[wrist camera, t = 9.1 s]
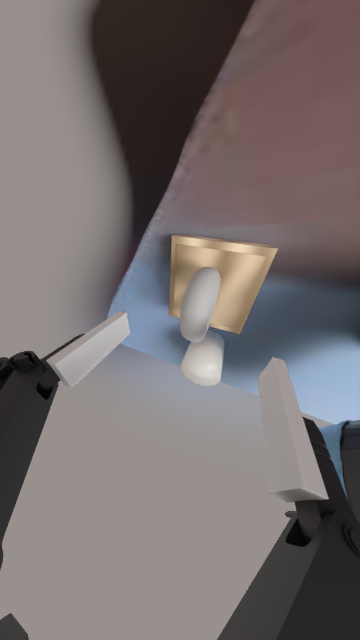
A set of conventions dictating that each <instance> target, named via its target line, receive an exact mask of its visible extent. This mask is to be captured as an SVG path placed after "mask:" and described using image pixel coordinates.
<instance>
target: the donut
mask: <svg viewBox="0 0 360 640" xmlns="http://www.w3.org/2000/svg"><path fill="white" fill-rule="evenodd" d="M220 282H221V278H220V274H219V272H218V271H217V270H216V269H215V268H213V267H203V268H200V269H199V270H197V271H196V272H195V273H194V275H193V276H192V278H191V279H190V281H189V284H188V286H187V288H186V291H185V294H184V297H183V302H182V306H181V311H180V322H179V325H180V331H181V334H182V336H183V337H184V338H185V339H187V340H189V341H191V342H197V341H200V340H202V339H203V338H204V337H205V335H206V333H207V330H208V327H209V324H210V321H211V318H212V314H213V311H214V308H215V304H216V300H217V296H218V292H219V288H220Z"/></svg>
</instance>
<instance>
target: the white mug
mask: <svg viewBox="0 0 360 640" xmlns="http://www.w3.org/2000/svg"><path fill="white" fill-rule="evenodd" d="M224 348H225V342H224V340H223V338H222V337H221V336H220V335H219V334H218V333H216V332H214V331H211V330H207V333H206V335H205V337H204V338H203V339H202V340H200V341H197V342H190V344H189V347H188V349H187V351H186V354H185V356H184V358H183V361H182V363H181V366H180V369H181V372H182V374H183V375H184V376H185V377H186V378H187V379H188V380H190V381H191V382H193V383H195V384H198V385H202V386H214V385H216V384H218V383H219V382H220V379H221V372H222V364H223V356H224Z"/></svg>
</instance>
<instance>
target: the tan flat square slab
mask: <svg viewBox="0 0 360 640" xmlns="http://www.w3.org/2000/svg"><path fill="white" fill-rule="evenodd" d="M277 250H278V248H276V247H274V246H272V245H265V244H257V243H249V242H241V241H232V240H224V239H216V238H207V237H199V236H191V235H182V234H180V235H172V244H171V271H170V298H169V315H170V316H174V317H177V318H180V311H181V306H182V302H183V297H184V294H185V291H186V288H187V286H188V284H189V281H190V279H191V278H192V276H193V275H194V273H195V272H196V271H197V270H199V269H200V268H203V267H213V268H215V269H216V270H217V271H218V272H219V274H220V278H221V282H220V288H219V292H218V296H217V300H216V304H215V308H214V311H213V314H212V318H211V321H210V324H209V326H210V327H214V328H218V329H221V330H225V331H229V332H232V333H236V334H240V333H241V331H242V328H243V326H244V324H245V322H246V319H247V317H248V315H249V313H250V310H251V308H252V306H253V304H254V301H255V299H256V297H257V295H258V292H259V290H260V288H261V286H262V283H263V281H264V279H265V277H266V274H267V272H268V270H269V268H270V265H271V263H272V261H273V259H274V256H275V254H276V252H277Z"/></svg>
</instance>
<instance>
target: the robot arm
mask: <svg viewBox="0 0 360 640" xmlns="http://www.w3.org/2000/svg"><path fill="white" fill-rule="evenodd" d="M129 334H130V330H129V324H128V318H127V313H126V312H123V311H119V312H117V313H116V314H114V315H113V316H111V317H110V318H108V319H107V320H105V321H104V322H102V323H101V324H99V325H98V326H97V327H95V328H93V329H92V330H90V331H89V332H87V333H86V334H81V335H79V336H77V337H75V338H73V339H72V340H70V342H67V343H66V344H65V345H62V346H61V347H59V348H58V349H56V350H55V351H53V352H52V353H50V354H49V355H47V356H46V357H44V358H42V359H39V358H38V357H37V356H36V354H35V353H34V352H32V351H24V352H21V353H18V354H16V355H14V356H12V357H11V358H9V359H8V358H5V357H3V358H0V569H1V565H2V561H3V551H2V541H3V537H4V534H5V531H6V529H7V526H8V523H9V520H10V518H11V515H12V512H13V509H14V507H15V504H16V501H17V498H18V496H19V493H20V490H21V487H22V485H23V482H24V479H25V476H26V473H27V471H28V468H29V465H30V463H31V460H32V457H33V454H34V451H35V448H36V446H37V443H38V440H39V438H40V435H41V432H42V429H43V427H44V424H45V421H46V418H47V415H48V413H49V410H50V407H51V405H52V401H53V399H54V396H55V393H56V391H57V388H58V382H59V381H60V380H61V381H62V382H63V383H64V385H66V386H68V387H70V388H73V387H74V386H75V385H76V384H77V383H78V382H79V381H80V380H81V379H82V378H83V377H84V376H86V374H88V373H89V372H90V371H91V370H92V369H93V368H94V367H95V366H96V365H97V364H98V363H99V362H100V361H101V360H103V359H104V358H105V357H106V356H107V355H108V354H109V353H110V352H111V351H112V350H113V349H114V348H115V347H116V346H118V345H119V344H120V343H121V342H122V341H123V340H124V339H125V338H126V337H127V336H128V335H129ZM258 384H259V394H260V402H261V413H262V422H263V432H264V441H265V451H266V460H267V469H268V478H269V489H270V493H271V494H273V495H275V496H276V497H278V498H280V499H282V500H284V501H286V502H295V505H296V510H297V511H288V512H286V513H285V515H286V516H287V517H291V519H290V521H289V522H288V524H287V526H286V528H285V529H284V530H283V532H282V534H281V536H280V537H279V539H278V540H277V542H276V544H275V545H274V547H273V549H272V550H271V552H270V554H269V555H268V557H267V558H266V560H265V562H264V563H263V565H262V567H261V569H260V570H259V572H258V573H257V575H256V577H255V578H254V580H253V581H252V583H251V585H250V586H249V588H248V590H247V591H246V593H245V595H244V596H243V598H242V600H241V601H240V603H239V605H238V606H237V608H236V609H235V611H234V613H233V614H232V616H231V618H230V619H229V621H228V623H227V624H226V626H225V628H224V629H223V631H222V633H221V634H220V636H219V637H218V639H217V640H360V420H357V421H350V420H346V421H342V422H340V423H339V424H335V425H330V426H326V427H321V428H319V429H318V427H317V426H316V424H315V423H314V422H313V421H312V420H309V419H306V418H304V417H302V414H301V411H300V408H299V405H298V402H297V398H296V395H295V392H294V389H293V386H292V383H291V380H290V377H289V373H288V370H287V367H286V364H285V361H284V360H281V359H278V358H275V357H273V358H272V359H271V360H270V362H269V363H268V364H267V366H266V367H265V369H264V370H263V371H262V373H261V374H260V376H259V377H258ZM0 640H29V638H28V634H27V633H26V632H25V631H24V629H23V628H22V627H21V625H20V624H19V623H18V622H17V620H16V619H15V618H14V617H13V615H12V614H11V613H10V614H8V615H7V616H5V617H4V618H2V619H1V620H0Z"/></svg>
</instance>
